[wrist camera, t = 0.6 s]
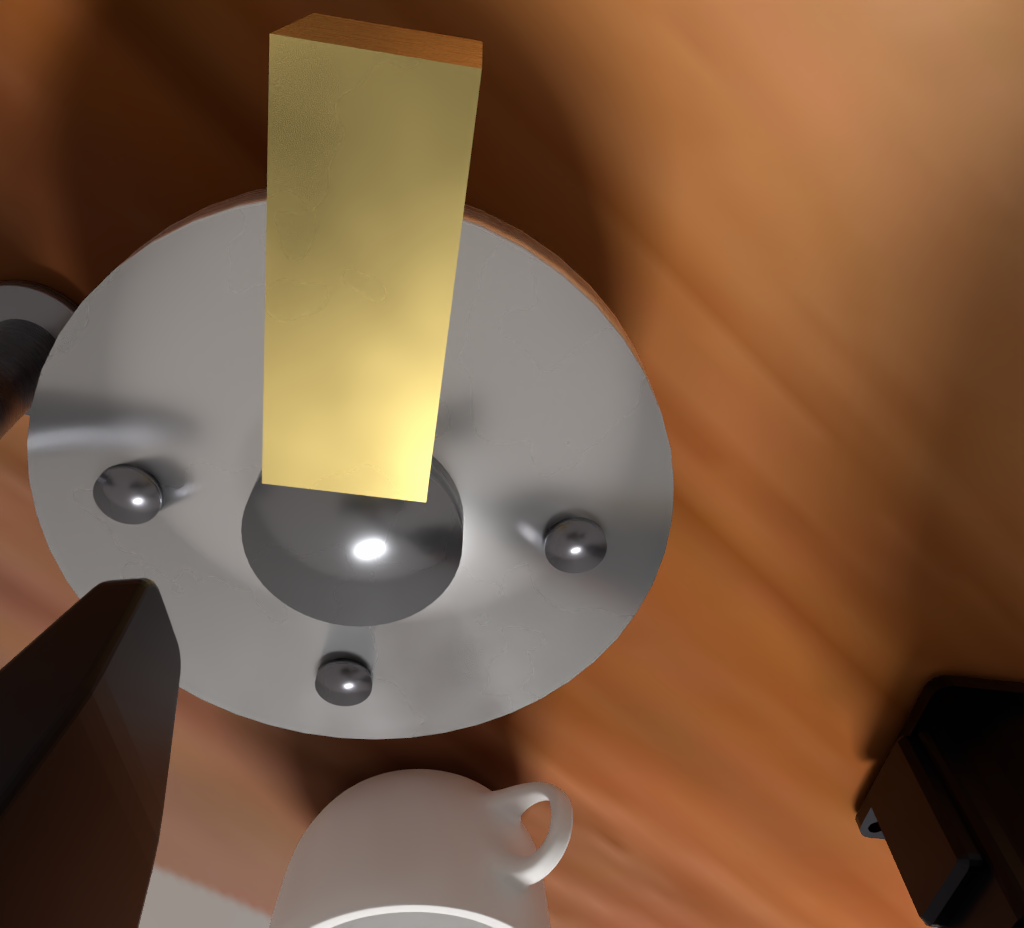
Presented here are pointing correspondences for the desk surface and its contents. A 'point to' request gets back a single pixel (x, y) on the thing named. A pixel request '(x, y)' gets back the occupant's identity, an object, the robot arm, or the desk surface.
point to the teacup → (424, 856)
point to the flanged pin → (26, 342)
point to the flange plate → (493, 431)
